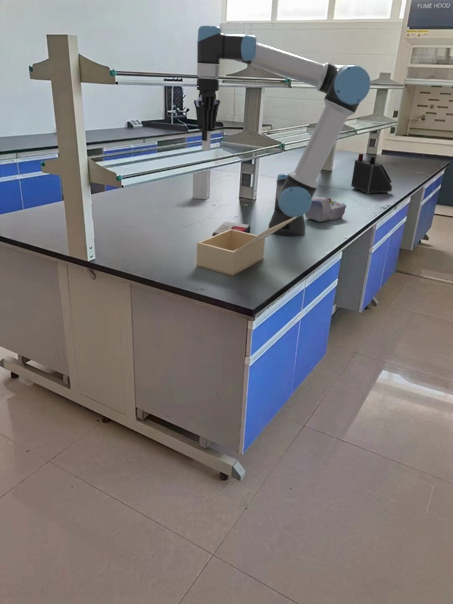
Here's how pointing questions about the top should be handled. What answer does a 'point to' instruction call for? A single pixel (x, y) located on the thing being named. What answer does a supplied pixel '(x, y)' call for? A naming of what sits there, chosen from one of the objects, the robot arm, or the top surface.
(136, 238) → the top surface
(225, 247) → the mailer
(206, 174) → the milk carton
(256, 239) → the lid
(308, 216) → the grey rock
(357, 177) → the voltmeter
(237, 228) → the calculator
